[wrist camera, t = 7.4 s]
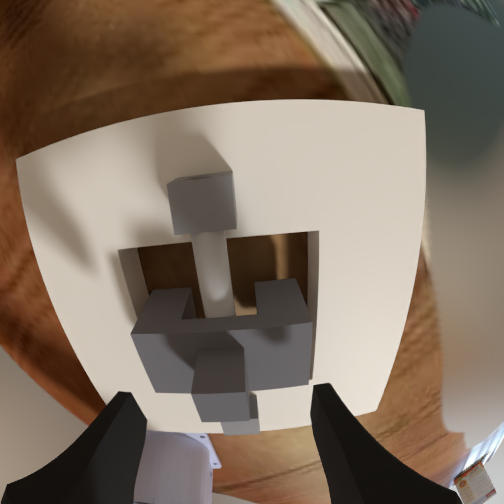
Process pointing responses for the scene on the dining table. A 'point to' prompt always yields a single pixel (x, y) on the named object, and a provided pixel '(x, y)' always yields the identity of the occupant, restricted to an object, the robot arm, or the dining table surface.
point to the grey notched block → (225, 348)
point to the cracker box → (475, 485)
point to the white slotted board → (235, 236)
